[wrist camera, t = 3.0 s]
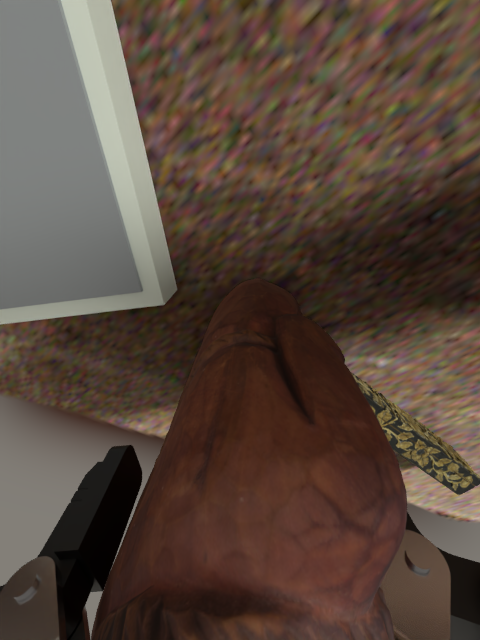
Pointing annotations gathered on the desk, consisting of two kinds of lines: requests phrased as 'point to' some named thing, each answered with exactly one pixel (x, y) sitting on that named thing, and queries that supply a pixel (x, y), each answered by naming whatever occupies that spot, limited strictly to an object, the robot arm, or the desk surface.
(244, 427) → the wooden figurine
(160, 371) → the desk surface
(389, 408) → the decorative block
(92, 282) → the plinth
